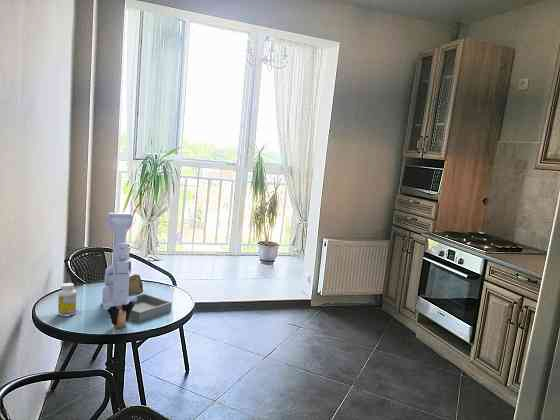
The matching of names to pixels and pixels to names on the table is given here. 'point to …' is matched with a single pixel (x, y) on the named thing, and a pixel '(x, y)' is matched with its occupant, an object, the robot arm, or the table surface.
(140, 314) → the bin
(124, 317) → the orange-brown upright cylinder
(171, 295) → the table surface
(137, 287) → the rock
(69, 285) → the supplement bottle
